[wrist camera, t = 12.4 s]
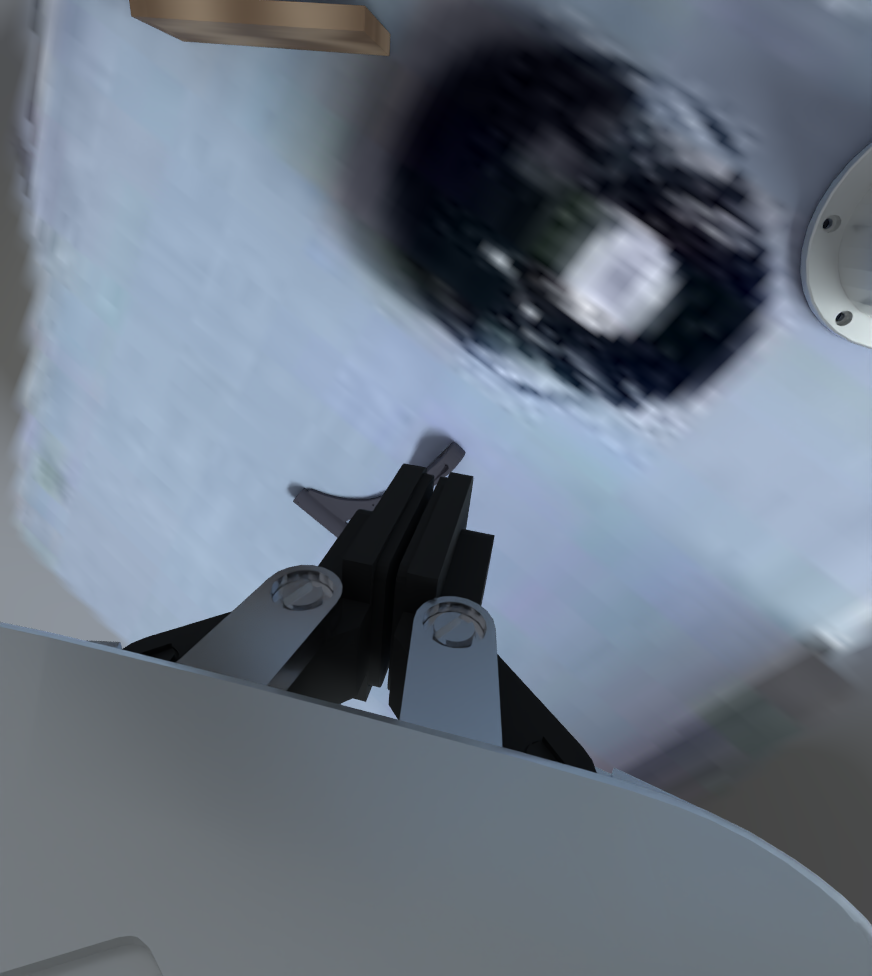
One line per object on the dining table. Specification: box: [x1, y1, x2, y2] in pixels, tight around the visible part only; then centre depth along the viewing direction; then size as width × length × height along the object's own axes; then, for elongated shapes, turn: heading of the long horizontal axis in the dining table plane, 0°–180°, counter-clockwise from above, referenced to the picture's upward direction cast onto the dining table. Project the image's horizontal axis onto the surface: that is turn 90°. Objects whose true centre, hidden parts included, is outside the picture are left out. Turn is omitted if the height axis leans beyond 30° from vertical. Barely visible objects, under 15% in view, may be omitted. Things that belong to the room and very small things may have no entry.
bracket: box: [293, 442, 465, 538], centre depth 44 cm, size 14×15×3 cm
